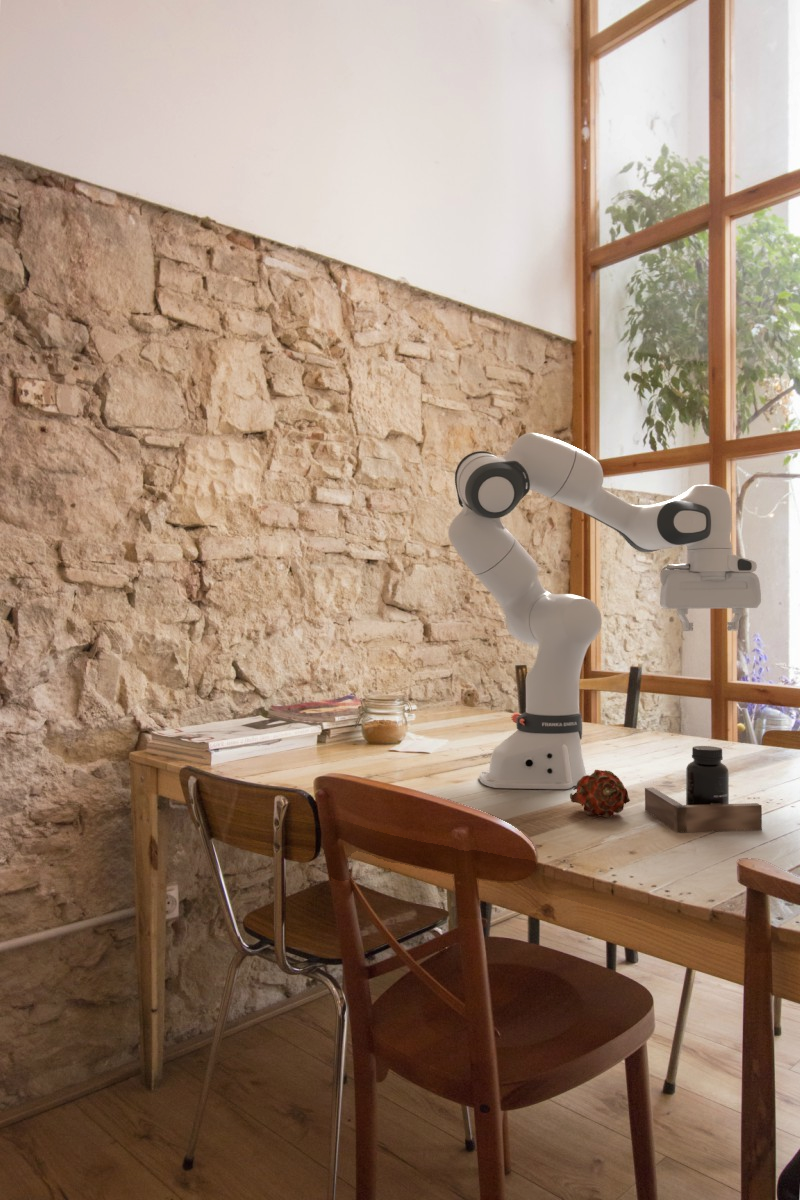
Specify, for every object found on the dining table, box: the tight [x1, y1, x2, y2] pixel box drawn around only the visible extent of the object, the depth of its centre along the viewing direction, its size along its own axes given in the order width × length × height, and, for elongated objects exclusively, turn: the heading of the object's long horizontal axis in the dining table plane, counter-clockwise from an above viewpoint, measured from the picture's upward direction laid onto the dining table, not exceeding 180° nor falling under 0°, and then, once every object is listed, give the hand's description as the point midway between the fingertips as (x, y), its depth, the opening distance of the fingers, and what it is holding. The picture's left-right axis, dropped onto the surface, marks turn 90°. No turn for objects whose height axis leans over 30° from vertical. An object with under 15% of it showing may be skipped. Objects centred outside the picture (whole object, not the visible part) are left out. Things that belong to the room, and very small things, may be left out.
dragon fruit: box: [569, 769, 631, 819], centre depth 151 cm, size 8×8×12 cm
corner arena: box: [644, 787, 763, 833], centre depth 146 cm, size 14×15×4 cm
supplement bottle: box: [685, 745, 730, 805], centre depth 145 cm, size 7×7×12 cm
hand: (710, 630), depth 177 cm, fingers open, 8 cm apart
